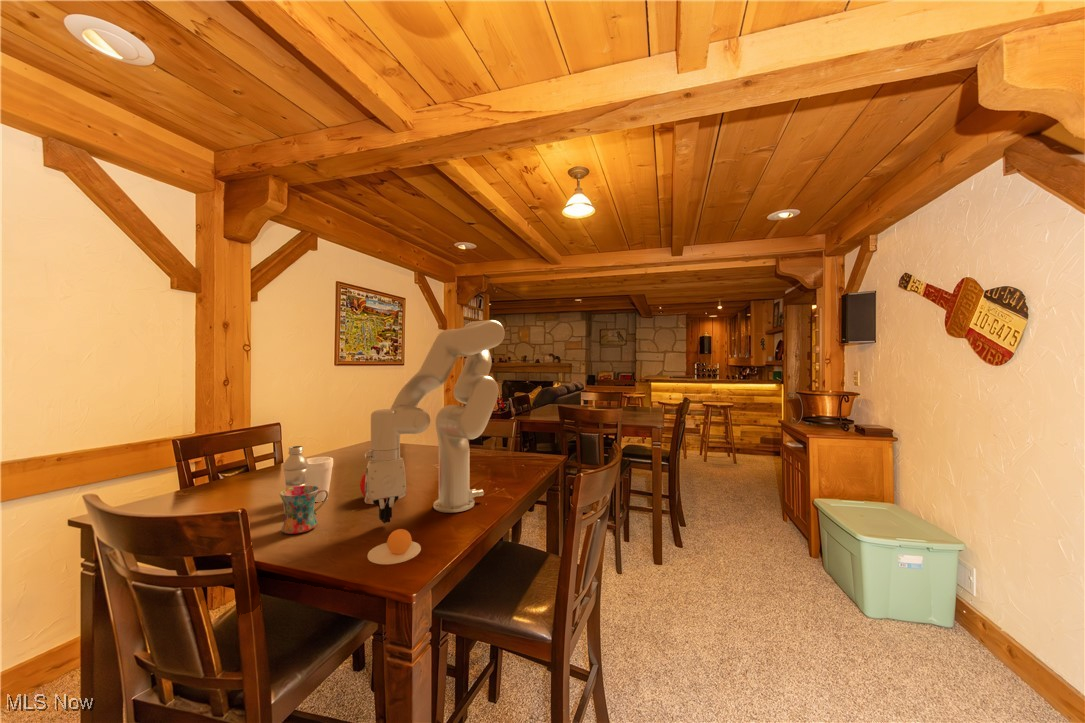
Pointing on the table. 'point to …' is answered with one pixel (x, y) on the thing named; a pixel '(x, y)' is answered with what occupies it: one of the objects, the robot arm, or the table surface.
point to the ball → (399, 541)
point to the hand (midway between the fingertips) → (385, 521)
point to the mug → (300, 508)
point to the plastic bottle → (295, 468)
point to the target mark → (392, 554)
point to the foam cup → (319, 475)
